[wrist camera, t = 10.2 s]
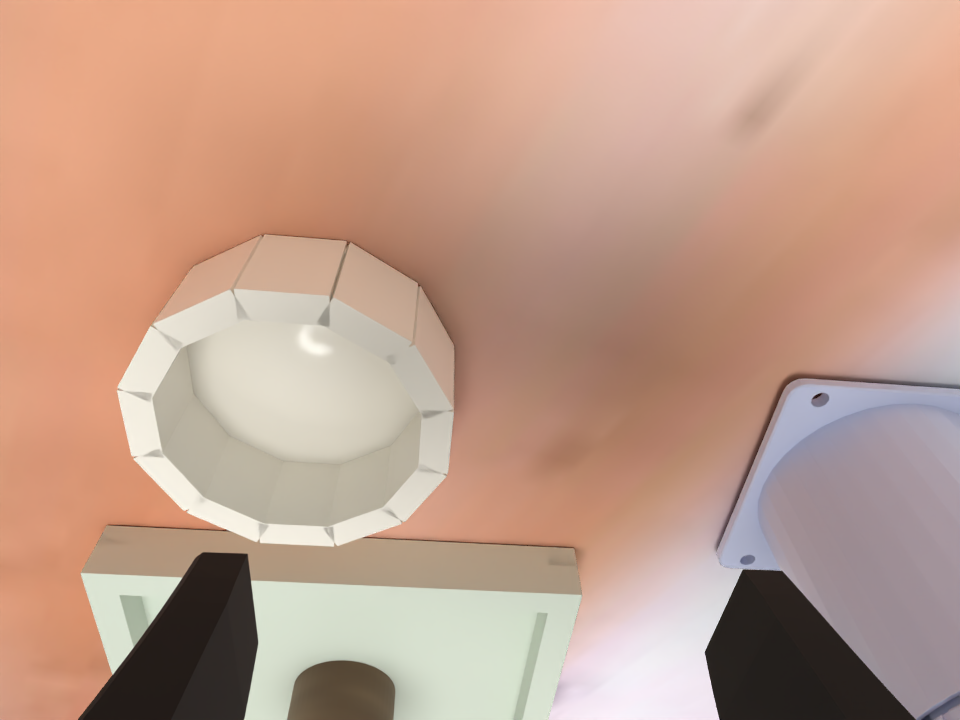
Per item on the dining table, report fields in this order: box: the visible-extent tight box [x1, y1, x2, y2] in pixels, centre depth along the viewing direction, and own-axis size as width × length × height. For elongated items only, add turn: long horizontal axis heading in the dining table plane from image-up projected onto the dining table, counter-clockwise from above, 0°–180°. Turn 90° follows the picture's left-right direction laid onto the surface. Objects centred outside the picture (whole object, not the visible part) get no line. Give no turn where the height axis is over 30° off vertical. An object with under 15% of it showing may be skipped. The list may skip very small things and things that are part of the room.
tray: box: [81, 525, 582, 720], centre depth 28 cm, size 16×16×2 cm
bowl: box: [117, 234, 454, 547], centre depth 19 cm, size 8×8×3 cm
